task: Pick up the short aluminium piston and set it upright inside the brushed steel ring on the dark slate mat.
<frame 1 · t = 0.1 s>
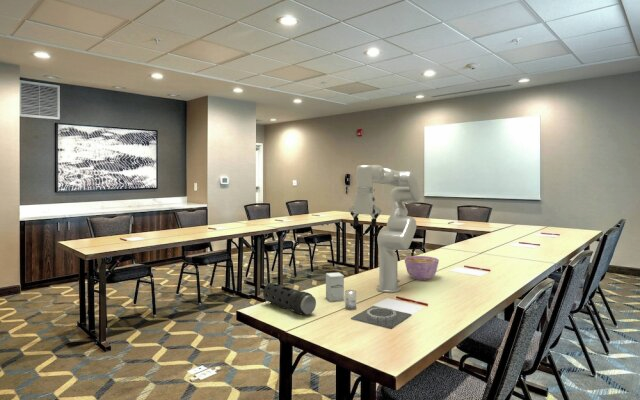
hand: (364, 226, 187), 37 cm above the table, tool pointing down, fingers open, 9 cm apart
supplement box: (334, 299, 193), on the table
ring mat: (381, 317, 167), on the table
piston: (350, 308, 179), on the table
muzzle brake: (289, 310, 178), on the table
bowl of food: (421, 278, 231), on the table
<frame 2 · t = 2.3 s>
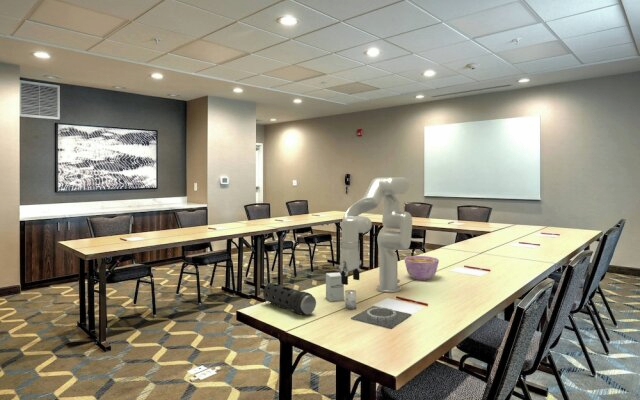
hand: (350, 282, 178), 12 cm above the table, tool pointing down, fingers open, 9 cm apart
nothing on the table moved.
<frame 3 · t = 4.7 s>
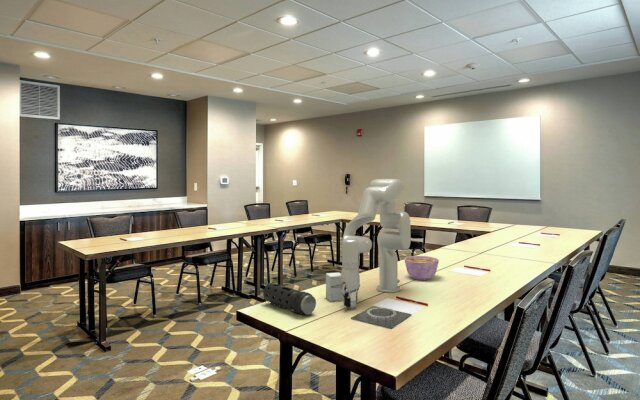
hand: (350, 304, 179), 2 cm above the table, tool pointing down, fingers closed on piston, 5 cm apart
piston: (350, 308, 179), on the table, touching gripper
everything else where it was.
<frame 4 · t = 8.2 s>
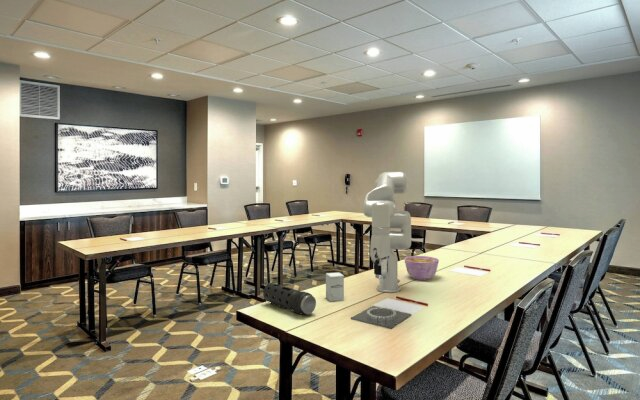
hand: (381, 272, 166), 19 cm above the table, tool pointing down, fingers closed on piston, 5 cm apart
piston: (381, 277, 166), point 17 cm above the table, touching gripper
everything else where it was.
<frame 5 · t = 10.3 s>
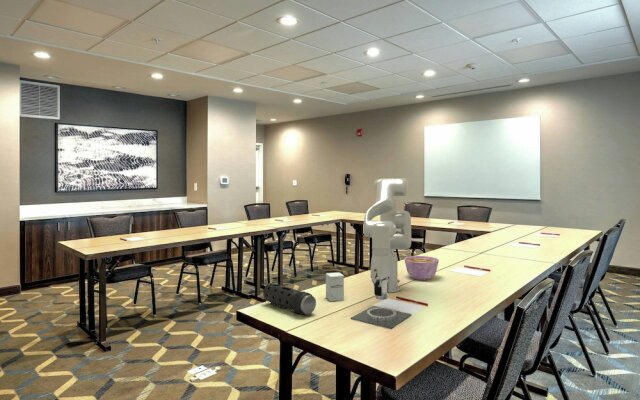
hand: (381, 293, 166), 10 cm above the table, tool pointing down, fingers closed on piston, 5 cm apart
piston: (381, 298, 167), point 8 cm above the table, touching gripper
everything else where it was.
when the fingers open (4 cm above the table, at t = 11.9 s): piston drops 1 cm, resting on ring mat.
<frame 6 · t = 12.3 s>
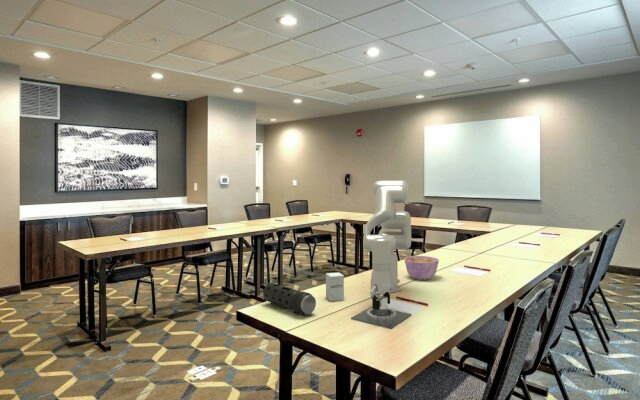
hand: (381, 306, 167), 5 cm above the table, tool pointing down, fingers open, 9 cm apart
piston: (381, 315, 167), point 1 cm above the table, touching ring mat
everything else where it was.
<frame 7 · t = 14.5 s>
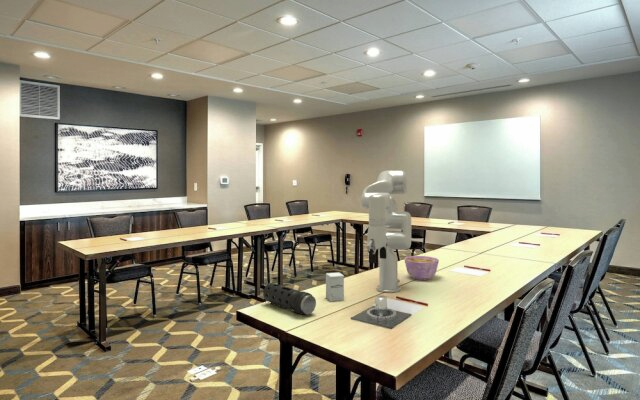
hand: (377, 260, 172), 23 cm above the table, tool pointing down, fingers open, 9 cm apart
nothing on the table moved.
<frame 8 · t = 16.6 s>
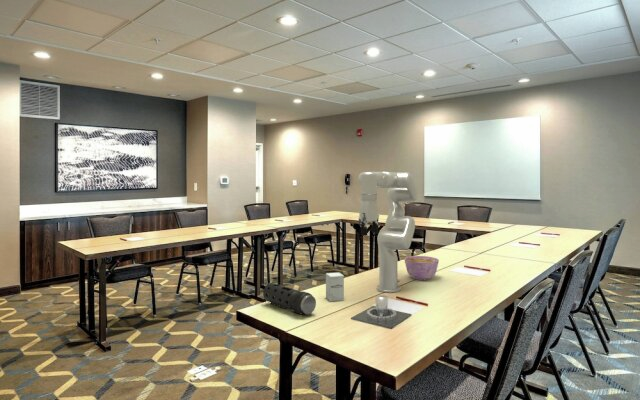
hand: (369, 234, 185), 33 cm above the table, tool pointing down, fingers open, 9 cm apart
nothing on the table moved.
at the end: piston 0.2 cm off-centre on the ring mat, point 0.7 cm above the ring mat's base; piston tilted 2°; the gripper is holding nothing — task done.
